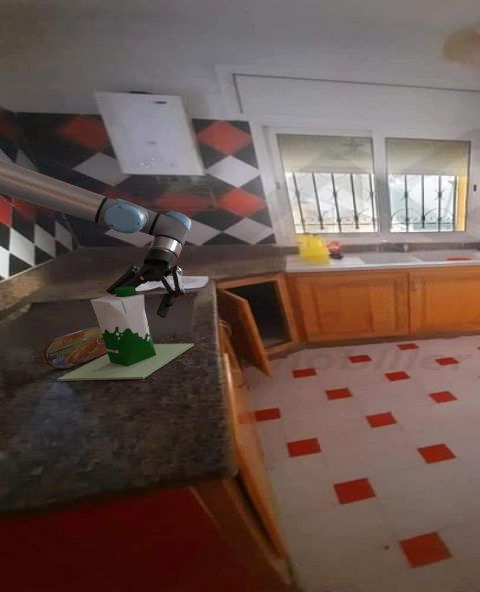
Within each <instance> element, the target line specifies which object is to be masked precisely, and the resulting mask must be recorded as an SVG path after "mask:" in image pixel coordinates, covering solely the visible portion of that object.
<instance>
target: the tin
mask: <svg viewBox="0 0 480 592" xmlns="http://www.w3.org/2000/svg"><path fill="white" fill-rule="evenodd" d="M106 354H108V353H107V350H106V346H105V343H104V340H103V336H102V333H101V329H100V326H96V327H87V328H84V329H81V330H78V331H75V332H71V333H68V334H64V335H61V336H59V337H56V338H53V339H50V340H48V341H47V342H46V343H45V344H44V345H43V347H42V348H41V350H40V359H41V361H42V363H44V364H45V365H46V366H47V367H50V368H55V369H64V370H65V369H70V368H73V367H76V366H78V365H81V364H84V363H85V362H88V361H91V360H93V359H97V358H100V357H102V356H104V355H106Z"/></svg>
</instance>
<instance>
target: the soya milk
mask: <svg viewBox="0 0 480 592" xmlns="http://www.w3.org/2000/svg"><path fill="white" fill-rule="evenodd" d="M136 289H137V288H135V286H124V287H118V288H115V292H116V294H115V295H111V294H110V295H104V296H101V297H97V298H94V299H90V300H89V301H90V304H91V306H92V308H93V311H94V313H95V316H96V319H97V322H98V327H100V329H101V333H102V336H103V340H104V343H105V346H106V350H107V353H106V354H108V356H109V360H110V362H111V363H115V364H120V365H124V366H130V365H133V364H135V363H138V362H140V361H143V360H145V359H148V358H150V357H153V356H155V355H156V352H155V348H154V345H153V344H154V341H153V338H152V334H151V330H150V326H149V321H148V318H147V314H146V309H145V294H141V293H138V292H137V290H136Z"/></svg>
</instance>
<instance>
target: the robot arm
mask: <svg viewBox="0 0 480 592" xmlns="http://www.w3.org/2000/svg"><path fill="white" fill-rule="evenodd" d="M0 194H1V195H5V196H8V197H12V198H15V199H18V200H20V201H24V202H27V203H31V204H34V205H37V206H39V207H44V208H46V209H50V210H54V211H57V212H58V213H59V212H60V213H63V214H66V215H69V216H73V217H76V218H79V219H82V220H85V221H89V222H92V223H95V224H98V225H100V226H104V227H107V228H110V229H111V230H113V231H115V232H118V233H121V234H127V235H128V234H129V235H130V234H134V233H138V232H140V233H143V234H146V235H148V236H151V237H153V239H152V241H151V243H150V245H149V247H148V250H147V251H146V254H145V256H144V257H143V265H142V266H141V267H136V266H135V265H130V266H129V268H128V269H127V271H126V272H125V273H124V274H122V276H121V277H118V279H116V281H114V282H113V283H112V284H111V285H110V286H108V288H106V291H105V292H106V293H108V294H110V295H115V294H116V292H115V288H118V287H124V286H135V289H137V288H138V287H140V286H142V285H144V284H146V283H154V282H156V283H160V282H161V284H162V285H163V287H164V288H165V290H166V293H164V294H163V296H162V298H161V301H160V304H159V306H158V307H157V310H156V315H157V316H159V317H160V318H162V319H166V317H167V316H168V313H169V310H170V307H173V306H174V303H175V301H176V298H178V297H179V296H185V295H186V292H185V286H184V282H183V276H182V275H183V269H182V268H180V267H179V266H178V265H176V264H177V262H178V259H179V257H180V254H181V252H182V250H183V248H184V245H185V243H186V241H187V239H188V237H189V234H190V231H191V228H192V220H191V219H190V218H189V217H188V216H187V215H185V214H183V213H181V212H178V211H176V212H175V211H173V210H172V211H167V212H166V213H165V214H162V213H160V212H156V211H153V210H150V209H148V208H146V207H143V206H140V205H139V204H136V203H134V202H131V201H129V200H128V201H127V200H124V199H122V198H114V199H113V198H110V197H108V196H105V195H102V194H99V193H97V192H94V191H91V190H87V189H86V188H82V187H79V186H77V185H75V184H71V183H68V182H66V181H63V180H60V179H57V178H54V177H51V176H49V175H47V174H43V173H40V172H37V171H35V170H32V169H29V168H26V167H23V166H21V165H18V164H15V163H13V162H9V161H6V160H3V159H1V158H0ZM170 275H172V280H173V284H172V283H171V280H170V279H169V276H170ZM141 277H142V278H141Z"/></svg>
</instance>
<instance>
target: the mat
mask: <svg viewBox="0 0 480 592" xmlns="http://www.w3.org/2000/svg"><path fill="white" fill-rule="evenodd" d="M153 345H154V348H155V352H156V355H155V356H153V357H150V358H148V359H145V360H143V361H140V362H138V363H135V364H133V365H130V366H124V365H120V364H115V363H111V362H110V360H109V356H108V353H105V354H103V355H101V356H99V357H97V358H95V359H94V360H92V361H90V362H88V363H86V364H84V365H82V366H80V367H78V368H76V369H74V370H72V371H70V372H67V373H66V374H64V375H61V376H60V377H57V381H58V382H63V381H64V382H67V381H68V382H69V381H108V380H109V381H111V380H145V378H147V377H149V376H150V375H152V374H153V373H154V372H156V371H158V370H159V369H161V368H162V367H164V366H165V365H168V364H169V362H172V361H173V360H174V359H176V358H177V357H179V356H180V355H182V354H183V353H185V352H186V351H188V350H189V349H191V348H192V347H194V346H195V343H153Z"/></svg>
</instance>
